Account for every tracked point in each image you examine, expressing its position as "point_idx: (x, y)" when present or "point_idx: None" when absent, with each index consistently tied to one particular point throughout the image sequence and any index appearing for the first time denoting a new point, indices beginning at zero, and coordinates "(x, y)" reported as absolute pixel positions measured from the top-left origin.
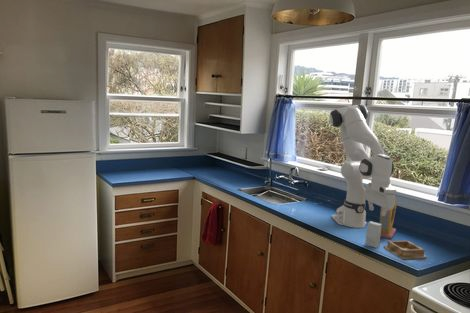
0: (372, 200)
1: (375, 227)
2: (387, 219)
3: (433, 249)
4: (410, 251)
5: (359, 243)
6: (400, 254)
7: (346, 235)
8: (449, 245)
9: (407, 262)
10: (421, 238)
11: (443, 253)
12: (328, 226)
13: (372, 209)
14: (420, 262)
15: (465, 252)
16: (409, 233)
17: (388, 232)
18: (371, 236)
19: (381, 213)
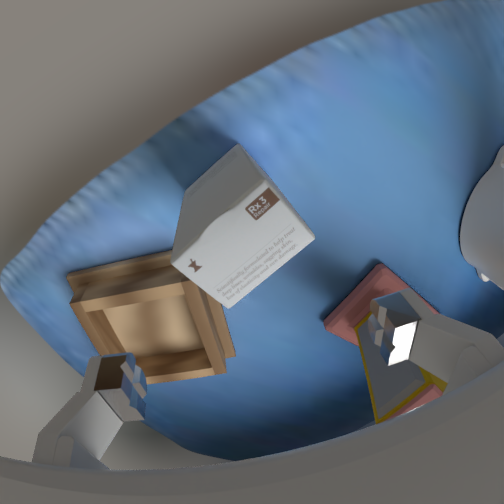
0: (410, 464)
1: (190, 231)
2: (373, 374)
3: (220, 413)
4: (88, 331)
5: (256, 111)
6: (95, 282)
7: (384, 91)
8: (262, 447)
9: (43, 278)
10: (321, 410)
11: (189, 422)
12: (487, 70)
13: (375, 328)
14: (66, 328)
15: (213, 456)
16: (368, 391)
17: (356, 331)
18: (210, 182)
19: (101, 374)
